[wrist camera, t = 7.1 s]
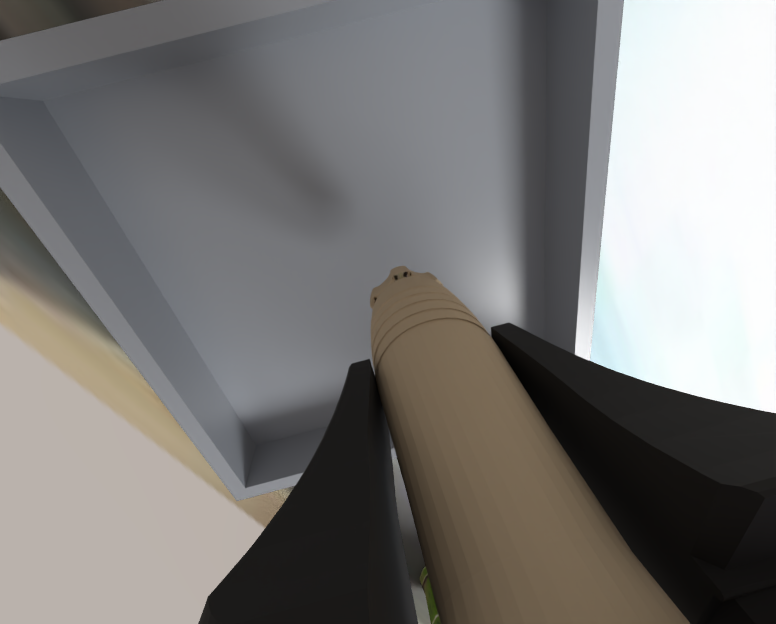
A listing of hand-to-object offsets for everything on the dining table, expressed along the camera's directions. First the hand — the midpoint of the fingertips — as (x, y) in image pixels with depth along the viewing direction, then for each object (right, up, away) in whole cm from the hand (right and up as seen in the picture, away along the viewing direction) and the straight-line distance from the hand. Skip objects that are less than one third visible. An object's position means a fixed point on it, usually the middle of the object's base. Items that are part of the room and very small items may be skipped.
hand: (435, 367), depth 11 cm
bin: (-3, +4, +9) cm, 11 cm away
